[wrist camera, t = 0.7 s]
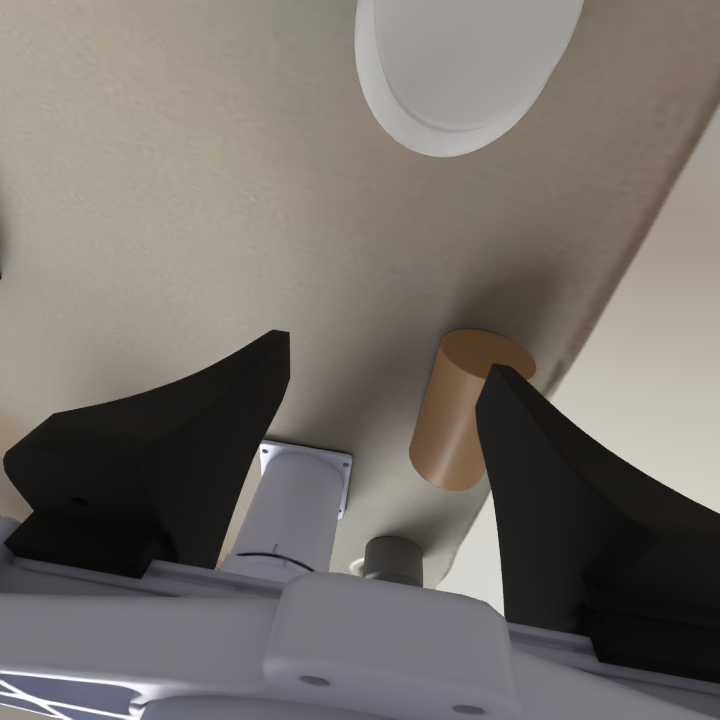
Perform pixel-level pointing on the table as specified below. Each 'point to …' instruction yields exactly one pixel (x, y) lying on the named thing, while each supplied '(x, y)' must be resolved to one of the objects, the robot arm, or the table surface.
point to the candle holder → (394, 561)
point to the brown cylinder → (459, 406)
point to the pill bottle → (457, 66)
